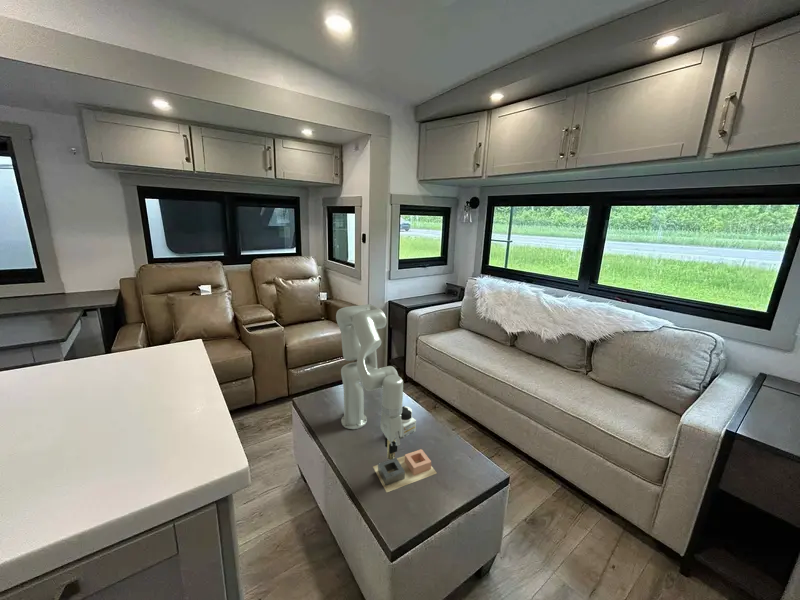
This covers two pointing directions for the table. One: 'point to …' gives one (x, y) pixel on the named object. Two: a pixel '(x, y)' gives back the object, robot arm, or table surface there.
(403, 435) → the container
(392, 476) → the mount collar
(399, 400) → the robot arm
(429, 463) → the socket collar
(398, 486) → the oak board
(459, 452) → the table surface
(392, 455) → the brass pin
